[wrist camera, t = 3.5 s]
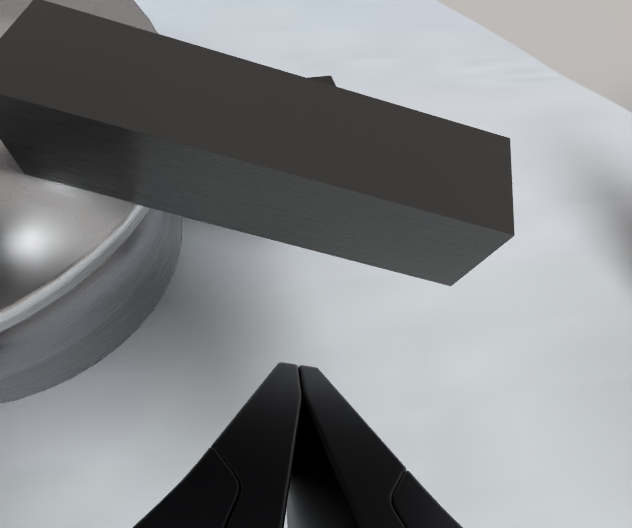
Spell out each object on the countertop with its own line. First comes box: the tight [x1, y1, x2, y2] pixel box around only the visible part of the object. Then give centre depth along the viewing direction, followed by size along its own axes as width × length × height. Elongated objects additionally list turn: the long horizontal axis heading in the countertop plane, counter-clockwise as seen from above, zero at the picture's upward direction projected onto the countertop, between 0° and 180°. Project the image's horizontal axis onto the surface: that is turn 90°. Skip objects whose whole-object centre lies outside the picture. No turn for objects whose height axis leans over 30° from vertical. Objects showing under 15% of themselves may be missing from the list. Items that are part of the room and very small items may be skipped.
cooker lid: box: [0, 0, 514, 332], centre depth 11 cm, size 25×16×4 cm, turn 79°
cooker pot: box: [0, 76, 336, 403], centre depth 16 cm, size 26×15×7 cm, turn 109°
